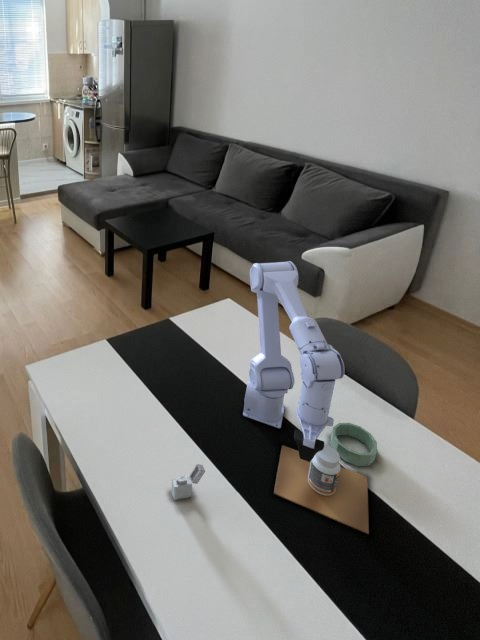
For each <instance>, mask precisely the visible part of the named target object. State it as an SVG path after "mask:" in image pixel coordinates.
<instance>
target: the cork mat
mask: <svg viewBox="0 0 480 640" xmlns="http://www.w3.org/2000/svg"><path fill="white" fill-rule="evenodd" d="M310 463H311V462H308V461H305V460H303V459H300V457H299V450H297V449H294V448H291V447H289V446H286V445H282V444H281V449H280V455H279V462H278V466H277V472H276V479H275V484H274V490H273V495H276V496H277V497H280V498H282V499H285V500H287V501H289V502H292V503H293V504H296V505H299V506H301V507H303V508H306V509H308V510H310V511H312V512H314V513H317V514H320V515H322V516H324V517H326V518H329V519H331V520H334V521H336V522H338V523H340V524H342V525H345V526H347V527H350V528H351V529H354V530H355V531H356V530H357V531H359V532H361V533H364V534H366V535H369V534H370V527H369V526H370V525H369V524H370V523H369V521H370V520H369V492H368V491H369V490H368V489H369V488H368V487H369V486H368V476H366V475H363V474H361V473H358V472H356V471H353V470H350V469H347V468H344V467H342V466H340V474H339V478H338V483H337V488H336V491H335V493H334V494H332V495H327V496H326V495H322V494H319V493H317V492H316V491H315V490H314V489H313V488H312V487H311V486H310V484H309V482H308V473H309V468H310Z"/></svg>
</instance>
